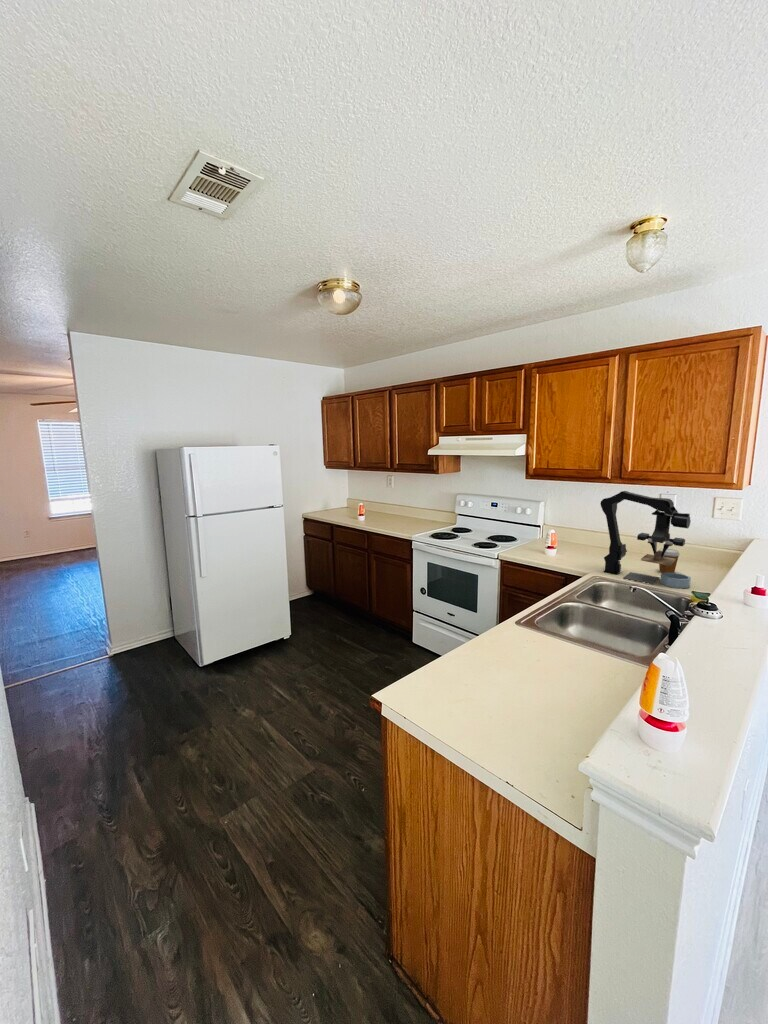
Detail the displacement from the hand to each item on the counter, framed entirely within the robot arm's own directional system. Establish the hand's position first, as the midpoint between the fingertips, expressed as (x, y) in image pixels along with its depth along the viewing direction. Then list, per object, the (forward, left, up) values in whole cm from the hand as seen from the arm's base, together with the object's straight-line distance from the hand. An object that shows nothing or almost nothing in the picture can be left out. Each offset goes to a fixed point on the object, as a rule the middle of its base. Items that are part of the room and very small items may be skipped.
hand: (658, 556), depth 202 cm
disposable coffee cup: (+1, +20, -13) cm, 24 cm away
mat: (-6, 0, -13) cm, 14 cm away
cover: (0, 0, -2) cm, 2 cm away
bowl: (+8, 0, -13) cm, 15 cm away
